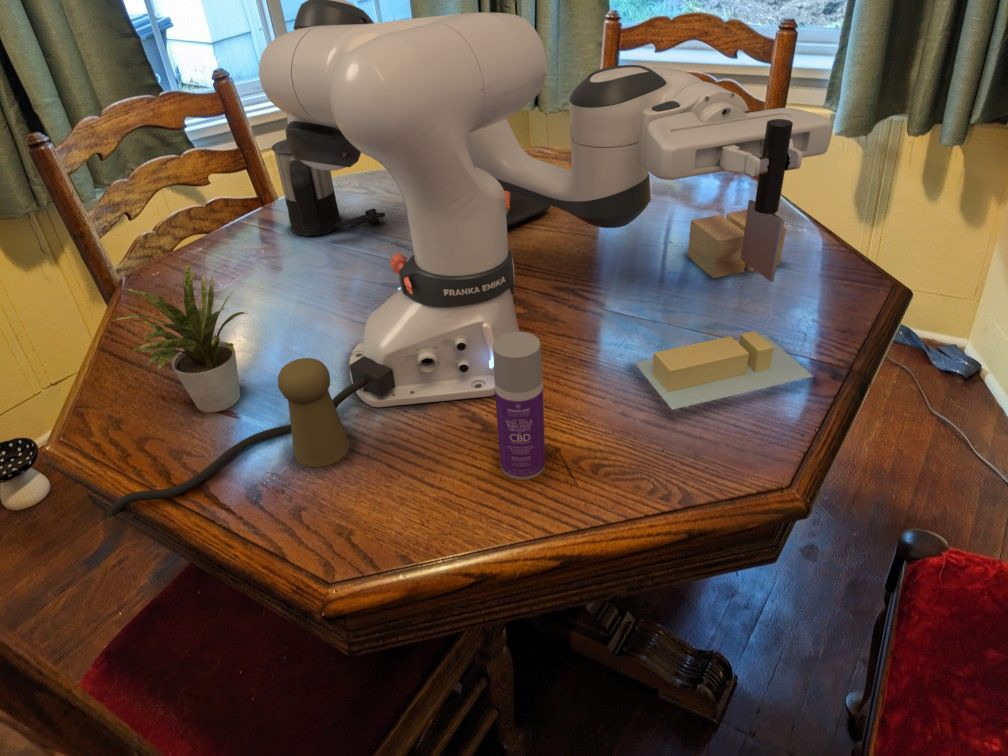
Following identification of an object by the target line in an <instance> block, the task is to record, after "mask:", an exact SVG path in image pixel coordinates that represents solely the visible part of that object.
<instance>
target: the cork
mask: <svg viewBox="0 0 1008 756" xmlns="http://www.w3.org/2000/svg"><path fill="white" fill-rule="evenodd" d="M330 375H331V374H330V371H329V368H328V367H327V366H326V365H325V364H324V363H323V362H322V361H321V360H320V359H317V358H313V357H302V358H298V359H294V360H291V361H290V362H288V363H286V364H285V365H284V366H283V367H282V368H281V369H280V371H279V373H278V375H277V386H278V390H279V391H280V393H281V395H282V396H283V398H284V399H286V400H287V403H288V413H289V420H290V421H289V422H290V424H291V431H292V432H291V439H292V448H293V455H294V459H295V461H296V462H297V463H299V465H302V466H304V467H309V468H322V467H327V466H330V465H332V464H334V463H337V462H339V461H340V460H341V459H342V458H344V457H345V455H346V454H347V453H348V451H349V449H350V447H351V446H350V440H349V438H348V435H347V433H346V430H345V427H344V426H343V423H342V420H341V418H340V415H339V413H338V411H337V408H335V406H334V403H333V401H332V400H333V398H332V396H331V394H330V391H329V388H330V386H331V376H330Z"/></svg>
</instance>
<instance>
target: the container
mask: <svg viewBox="0 0 1008 756" xmlns="http://www.w3.org/2000/svg"><path fill="white" fill-rule="evenodd" d="M493 361H494V383H495V395H494V397H495V410H496V421H497V422H496V424H497V436H498V447H499V449H498V450H499V461H500V469H501V471H502V473H503V474H504V475H505V476H506V477H509V478H510V479H513V480H515V481H528V480H531V479H535V478H537V477H538V476H540V475H541V474H542V473H543V472H544V470H545V468H546V440H545V439H546V438H545V433H546V432H545V404H544V402H545V401H544V400H545V399H544V379H543V378H544V377H543V363H542V362H543V361H542V347H541V340H540V339H539V337H537V336H536V335H535V334H532V333H530V332H526V331H520V332H510V333H506V334H503V335H501V336H499V337H498V338H497V339H496V340H495V341H494V343H493Z"/></svg>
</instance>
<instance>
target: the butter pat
mask: <svg viewBox="0 0 1008 756" xmlns="http://www.w3.org/2000/svg"><path fill="white" fill-rule="evenodd" d="M760 335H761V334H759V333H758V332H756V330H751V331H748V332H743V333H740V334H739V338H738V339H739V344H740V345H741V346H742V347H743V348H744V349H745V350H746V351H747V352H748V353H749V357H748V363H747V365H748V366H749V367H750V368H751V369H752V370H753V371H754V372H758V371H763V370H767V369H770V365H771V360H772V355H773V349H774V347H772V346H771V345H770V344H769V343H768V342H767V341H766V340H764V339H763V338H762V337H761V336H760Z"/></svg>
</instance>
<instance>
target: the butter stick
mask: <svg viewBox="0 0 1008 756" xmlns="http://www.w3.org/2000/svg"><path fill="white" fill-rule="evenodd" d="M736 340H737V339H735V338H734V337H733V336H732V335H729V336H724V337H720V338H716V339H711V340H707V341H702V342H696V343H692V344H688V345H683V346H679V347H674V348H670V349H664V350H660V351H655V352H653V358H654V361H653V375H654V376H655V377H656V378H657V380H658V381H659V382H660V383H661V384H662V386H663V387H664V388H665V389H666V391H667V392H671V391H675V390H680V389H684V388H688V387H693V386H697V385H702V384H706V383H710V382H715V381H719V380H723V379H728V378H732V377H736V376H741V375H745V374H746V369H747V363H748V357H749V353H748V352H747V351H746V350H745V349H744V348H743V347H742V346H741V345H740V344H739V343H738V342H737V341H736Z"/></svg>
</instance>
